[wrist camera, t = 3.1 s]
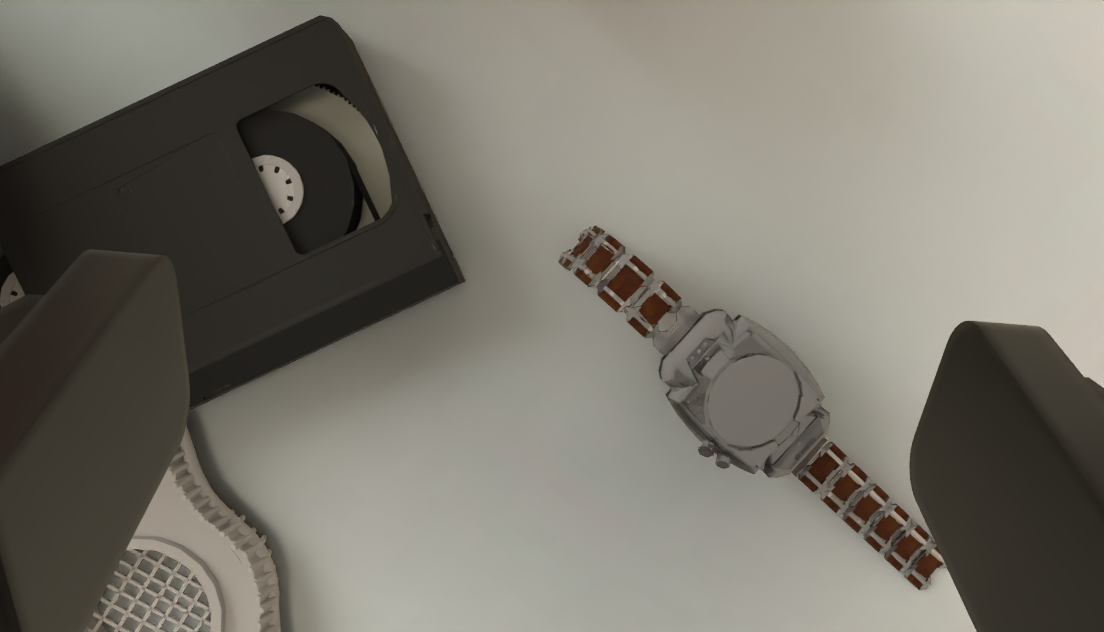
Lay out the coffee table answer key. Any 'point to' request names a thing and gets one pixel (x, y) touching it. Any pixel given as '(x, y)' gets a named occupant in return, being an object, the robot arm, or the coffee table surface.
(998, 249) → the coffee table surface
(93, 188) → the vhs tape
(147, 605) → the lattice window wall
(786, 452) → the wristwatch
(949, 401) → the robot arm
